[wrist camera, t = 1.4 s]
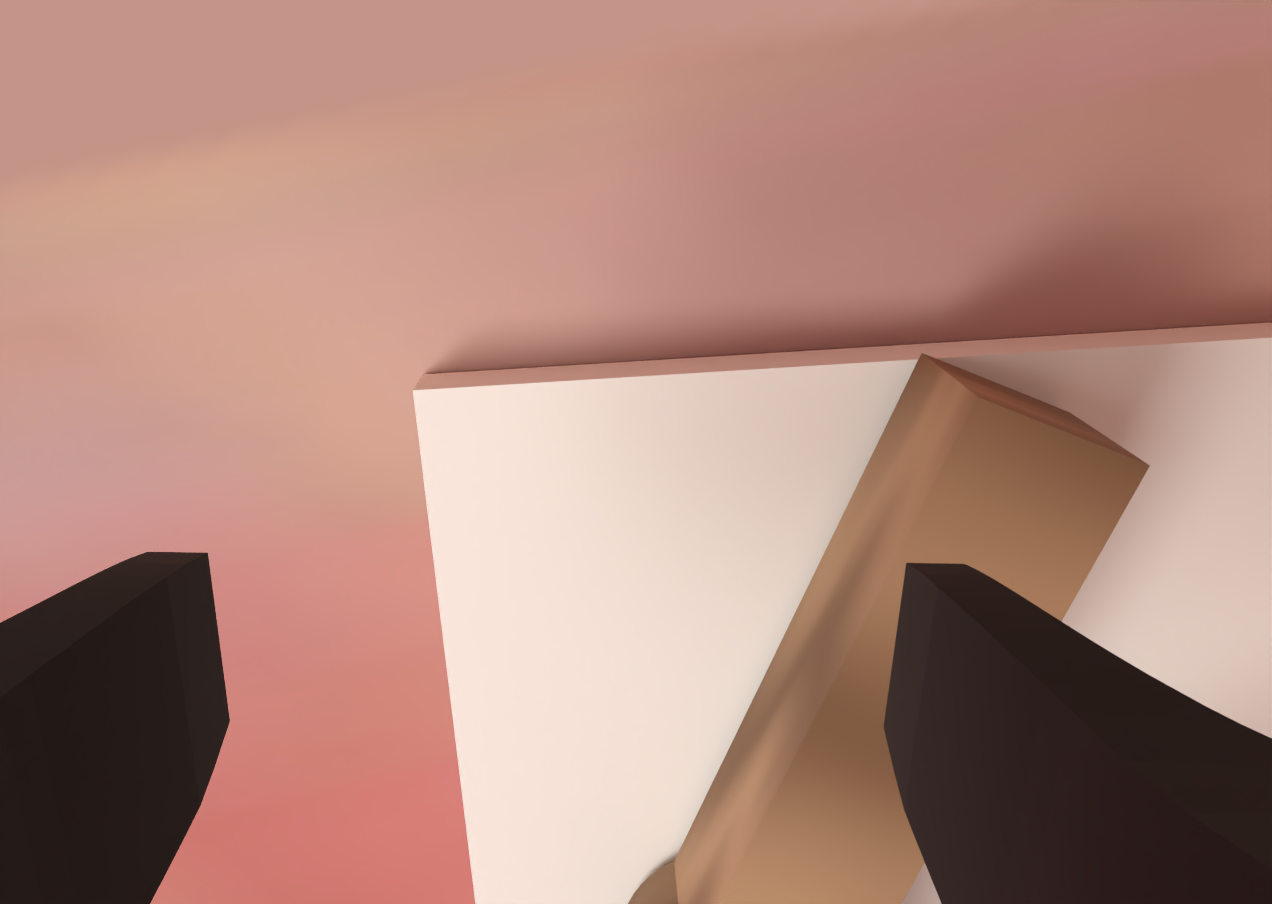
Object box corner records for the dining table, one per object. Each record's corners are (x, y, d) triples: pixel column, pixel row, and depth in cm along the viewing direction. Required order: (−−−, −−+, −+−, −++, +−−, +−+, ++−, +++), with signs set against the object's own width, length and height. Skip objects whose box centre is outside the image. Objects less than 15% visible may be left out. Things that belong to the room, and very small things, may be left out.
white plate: (1463, 1003, 26) (1503, 1044, 25) (506, 1071, 26) (501, 1116, 25) (1624, 300, 21) (1682, 312, 20) (422, 374, 21) (412, 390, 19)
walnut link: (764, 1026, 24) (786, 1153, 21) (592, 977, 23) (592, 1100, 20) (1093, 422, 20) (1177, 476, 17) (896, 342, 19) (948, 385, 16)
